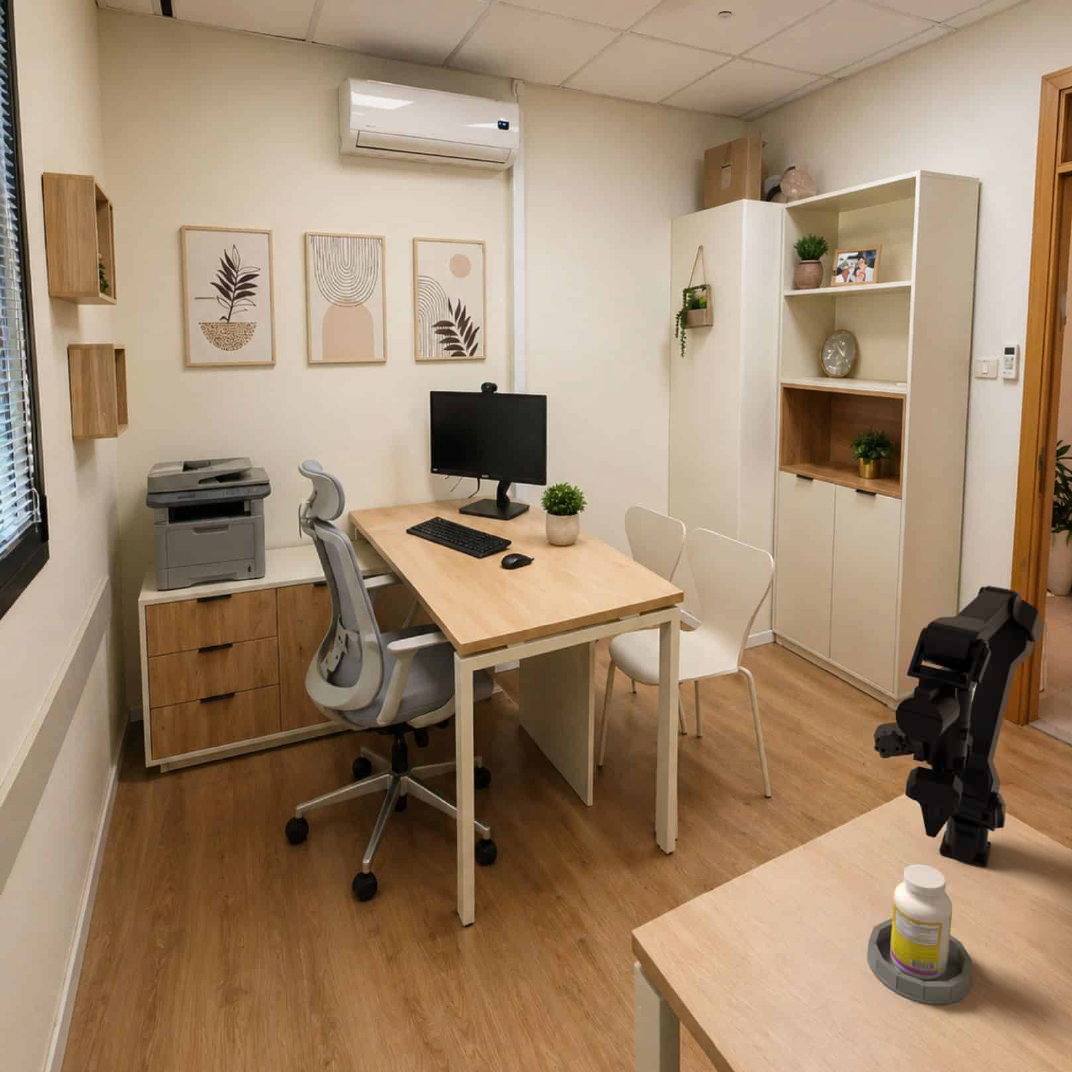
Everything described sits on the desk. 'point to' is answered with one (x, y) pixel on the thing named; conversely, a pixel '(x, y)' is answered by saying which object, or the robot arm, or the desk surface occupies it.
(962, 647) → the robot arm
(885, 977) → the grey round tray
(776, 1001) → the desk surface
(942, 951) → the supplement bottle
